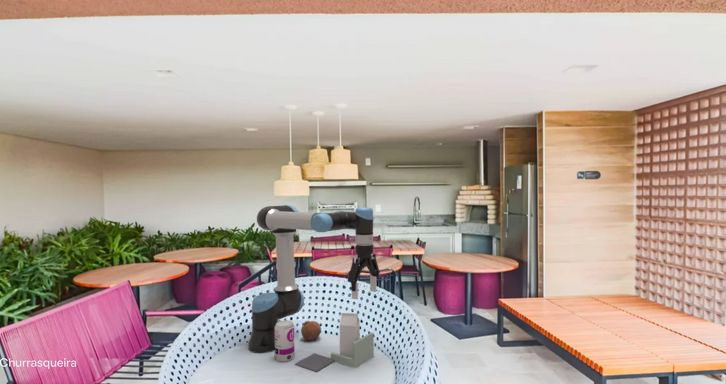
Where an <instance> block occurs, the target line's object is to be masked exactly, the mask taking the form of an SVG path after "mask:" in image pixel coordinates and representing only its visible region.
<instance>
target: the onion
mask: <svg viewBox="0 0 726 384" xmlns="http://www.w3.org/2000/svg"><path fill="white" fill-rule="evenodd" d="M321 333H322V328H321V325H320V323H319V322H317V321H315V320H306V321H304V323H303V325H302V326H301V336H302V338H303V339H304V340H306V341H316V340H317V339H318V338H319V336H320V334H321Z"/></svg>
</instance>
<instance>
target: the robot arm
mask: <svg viewBox="0 0 726 384" xmlns="http://www.w3.org/2000/svg"><path fill="white" fill-rule="evenodd" d="M374 219H375V217H374V209H373V208H371V207H356V208H355V211H344V210H341V211H340V210H338V211H335V212H308V211H307V212H306V211H304V212H303V211H299V210H298V209H297V208H296V207H295V206H293V205H288V204H287V205H286V204H283V205H268V206H265V207H262V208H261V209H260V210H259V211H258V213H257V215H256V223H257V225H258V227H259V228H261V229H262V230H264V231H272V235H273V236H274V237H275V252H276V256H275V257H276V277H277V282H276V283H277V286H276V287H274V292H264V293H260V294H258V295H256V296H255V297H254V298H253V299H252V302H251V319H252V320H251V322H252V323H251V334H250V338H249V340H248V345H247V346H248V350H249V351H250V352H251V353H252V352H253V353H258V354H259V353H261V354H263V353H270V352H273V351H274V352H275V326H276V323H277V322H279V320H282V319H284V318H287V317H289V316H294V315H295V314H297V313H299V312H300V311H301V310H302V309H303V306H304V304H305V303H304V302H305V298H304V294H303V292H302V291H301V290H300V289H299V286H298V285H297V284H296V272H295V271H296V269H295V266H296V265H295V249H294V248H295V244H294V235H295V234H297V230H304V231H314V232H317V233H326V232H332V231H342V230H354V231H355V235H354V237H355V244H356V245H355V254H356V255H357V257H352V261H351V266H350V270H349V273H348V277H347V282H348V283H350V285H351V286H350V287H351V288H350V289H351V299H354V300H359V283H358V281H359V278H360V275H361V274H362V271H363V270H364V268H367V269H368V271H369V274H370V278H369V279H370V280H369V282H370V284H369V285H370V287H369V291H370V292H373V293H377V281H378V280H377V277H379V276H380V274H381V272H380V268H379V265H378V262H377V256H376V254H375V253H374V245H373V244H374Z"/></svg>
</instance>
